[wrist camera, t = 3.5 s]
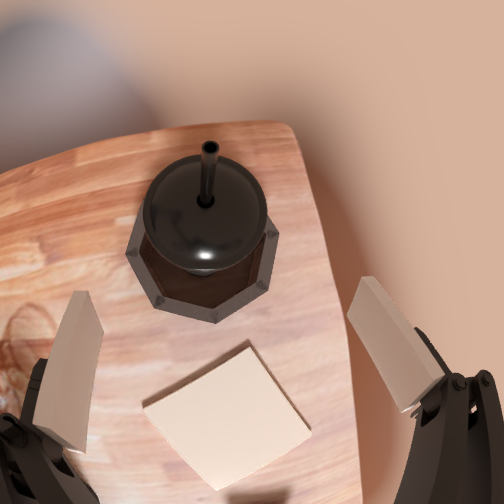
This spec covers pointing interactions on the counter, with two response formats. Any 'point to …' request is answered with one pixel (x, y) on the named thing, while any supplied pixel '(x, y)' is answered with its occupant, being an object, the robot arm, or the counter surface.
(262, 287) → the grey octagonal ring
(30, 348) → the counter surface
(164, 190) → the drinking cup
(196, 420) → the coaster
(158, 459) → the counter surface
